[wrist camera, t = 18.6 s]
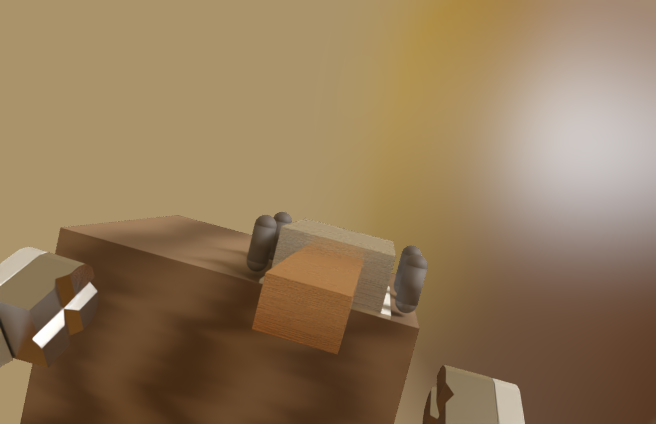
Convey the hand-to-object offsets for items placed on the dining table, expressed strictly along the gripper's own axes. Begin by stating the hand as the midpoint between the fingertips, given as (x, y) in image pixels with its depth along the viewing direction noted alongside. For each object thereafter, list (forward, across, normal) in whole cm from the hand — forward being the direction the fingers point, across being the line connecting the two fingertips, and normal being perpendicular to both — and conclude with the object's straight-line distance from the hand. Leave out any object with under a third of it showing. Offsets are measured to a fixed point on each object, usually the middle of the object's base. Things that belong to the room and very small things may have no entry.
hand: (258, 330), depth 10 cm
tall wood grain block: (+3, -5, -34) cm, 35 cm away
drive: (+10, 0, -8) cm, 13 cm away
